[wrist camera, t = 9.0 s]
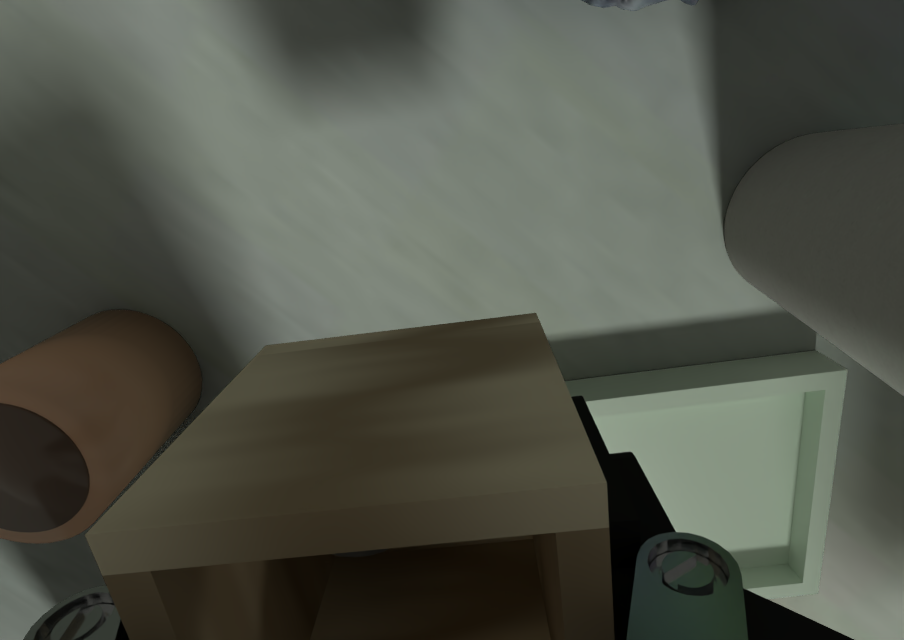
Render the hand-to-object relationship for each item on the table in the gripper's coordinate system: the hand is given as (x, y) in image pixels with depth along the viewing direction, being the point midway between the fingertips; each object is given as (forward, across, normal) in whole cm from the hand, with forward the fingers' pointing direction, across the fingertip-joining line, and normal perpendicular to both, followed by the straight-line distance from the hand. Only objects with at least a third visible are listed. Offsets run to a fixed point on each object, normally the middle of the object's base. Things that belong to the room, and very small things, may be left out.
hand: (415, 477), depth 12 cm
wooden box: (+1, 0, 0) cm, 1 cm away
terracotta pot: (+12, +14, +1) cm, 18 cm away
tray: (+12, -8, +10) cm, 18 cm away
